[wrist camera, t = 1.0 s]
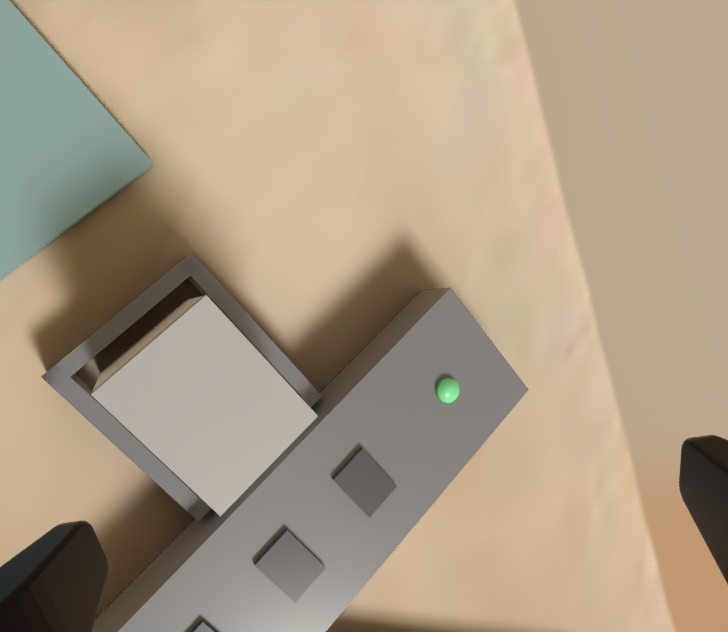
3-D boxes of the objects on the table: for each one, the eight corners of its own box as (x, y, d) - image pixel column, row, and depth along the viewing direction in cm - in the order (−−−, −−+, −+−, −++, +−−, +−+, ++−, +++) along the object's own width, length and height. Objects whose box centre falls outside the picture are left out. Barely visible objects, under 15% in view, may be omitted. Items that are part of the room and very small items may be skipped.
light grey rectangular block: (195, 464, 22) (220, 516, 16) (100, 372, 20) (91, 394, 15) (271, 391, 23) (318, 416, 17) (185, 299, 21) (206, 295, 16)
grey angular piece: (172, 754, 21) (178, 813, 19) (-137, 523, 18) (-180, 558, 15) (494, 383, 27) (531, 390, 25) (312, 151, 23) (335, 132, 21)
